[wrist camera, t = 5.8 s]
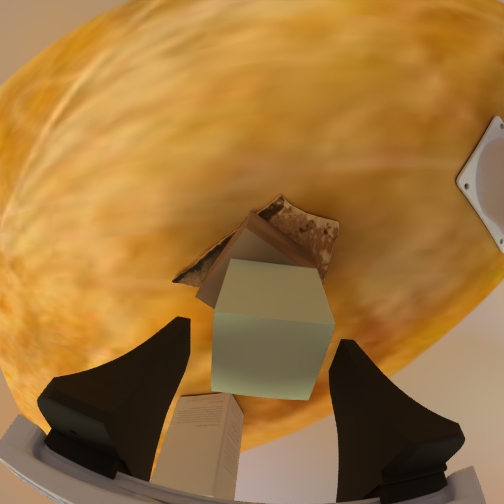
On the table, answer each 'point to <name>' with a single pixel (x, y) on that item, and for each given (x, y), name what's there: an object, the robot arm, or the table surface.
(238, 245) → the walnut block
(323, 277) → the shard
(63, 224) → the table surface
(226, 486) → the skincare box
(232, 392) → the sage block
